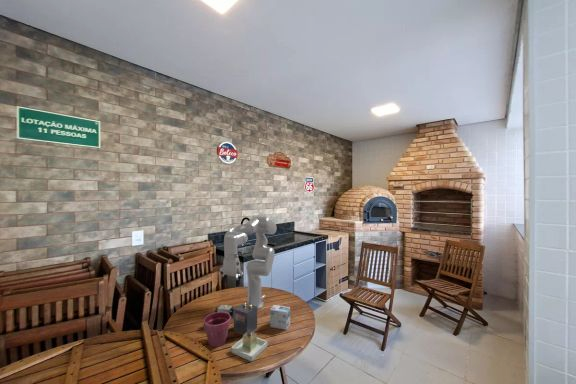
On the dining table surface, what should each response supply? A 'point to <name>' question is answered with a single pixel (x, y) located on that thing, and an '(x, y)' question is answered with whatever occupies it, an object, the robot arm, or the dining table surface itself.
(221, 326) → the plant pot
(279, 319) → the light bulb box
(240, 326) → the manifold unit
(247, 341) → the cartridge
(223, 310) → the pneumatic valve
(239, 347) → the tray
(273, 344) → the dining table surface
